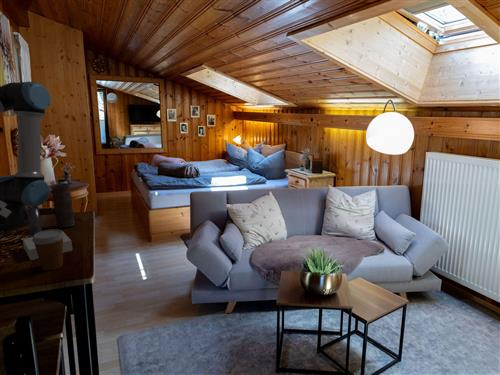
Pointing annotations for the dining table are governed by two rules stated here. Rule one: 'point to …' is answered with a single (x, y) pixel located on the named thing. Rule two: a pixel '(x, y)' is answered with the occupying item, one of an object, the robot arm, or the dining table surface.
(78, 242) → the dining table surface
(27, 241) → the hole block
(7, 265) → the dining table surface
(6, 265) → the dining table surface
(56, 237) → the disposable coffee cup
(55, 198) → the candle
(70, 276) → the dining table surface
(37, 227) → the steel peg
